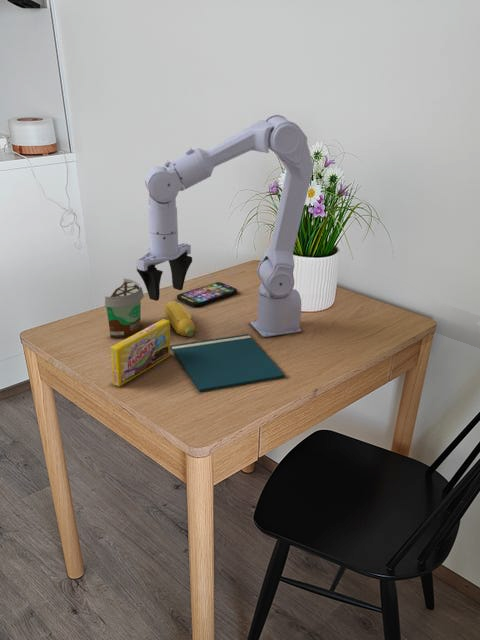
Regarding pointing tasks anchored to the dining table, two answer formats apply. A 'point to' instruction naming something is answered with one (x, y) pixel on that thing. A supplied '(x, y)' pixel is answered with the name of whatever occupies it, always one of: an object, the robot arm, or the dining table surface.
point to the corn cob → (179, 318)
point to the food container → (124, 309)
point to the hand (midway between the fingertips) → (166, 294)
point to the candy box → (140, 352)
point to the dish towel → (225, 362)
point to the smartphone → (206, 294)
